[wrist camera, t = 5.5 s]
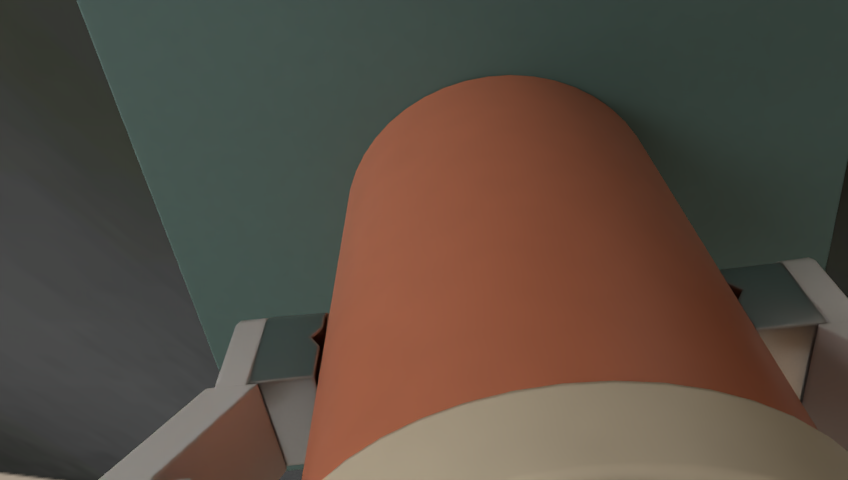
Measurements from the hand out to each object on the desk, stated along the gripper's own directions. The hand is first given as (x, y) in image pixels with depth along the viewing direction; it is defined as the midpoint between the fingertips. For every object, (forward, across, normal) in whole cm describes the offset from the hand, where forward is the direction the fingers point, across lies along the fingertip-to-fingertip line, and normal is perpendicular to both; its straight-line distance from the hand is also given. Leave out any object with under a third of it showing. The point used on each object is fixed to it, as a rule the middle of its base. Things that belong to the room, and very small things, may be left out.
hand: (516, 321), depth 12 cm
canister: (+3, 0, 0) cm, 3 cm away
